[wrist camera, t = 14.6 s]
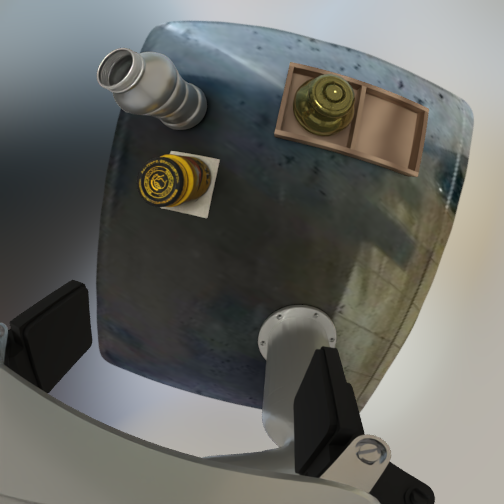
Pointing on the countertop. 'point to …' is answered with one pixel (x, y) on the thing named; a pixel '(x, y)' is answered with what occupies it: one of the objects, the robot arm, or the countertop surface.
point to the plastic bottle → (152, 88)
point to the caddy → (363, 124)
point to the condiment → (179, 182)
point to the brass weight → (324, 105)
